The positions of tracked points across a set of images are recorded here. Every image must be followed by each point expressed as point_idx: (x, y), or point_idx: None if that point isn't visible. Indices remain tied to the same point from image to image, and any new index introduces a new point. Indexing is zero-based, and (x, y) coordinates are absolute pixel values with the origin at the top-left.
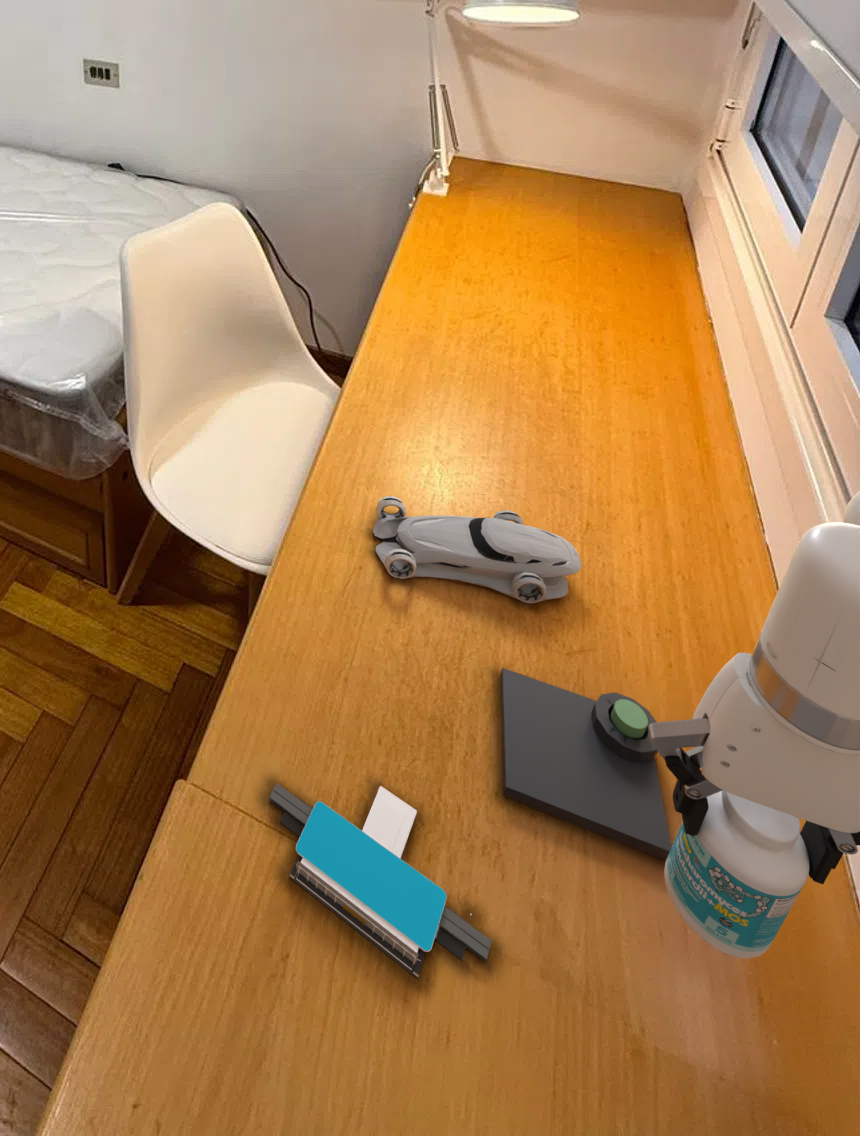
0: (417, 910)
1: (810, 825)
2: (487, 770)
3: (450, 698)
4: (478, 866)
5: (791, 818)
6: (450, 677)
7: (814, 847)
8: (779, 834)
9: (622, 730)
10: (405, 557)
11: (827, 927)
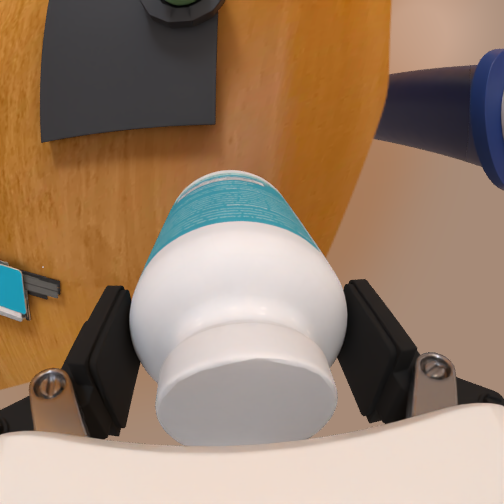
0: (11, 292)
1: (370, 342)
2: (35, 121)
3: (6, 64)
4: (39, 224)
5: (315, 417)
6: (8, 40)
7: (355, 361)
8: None
9: (170, 2)
10: None
11: (362, 133)
